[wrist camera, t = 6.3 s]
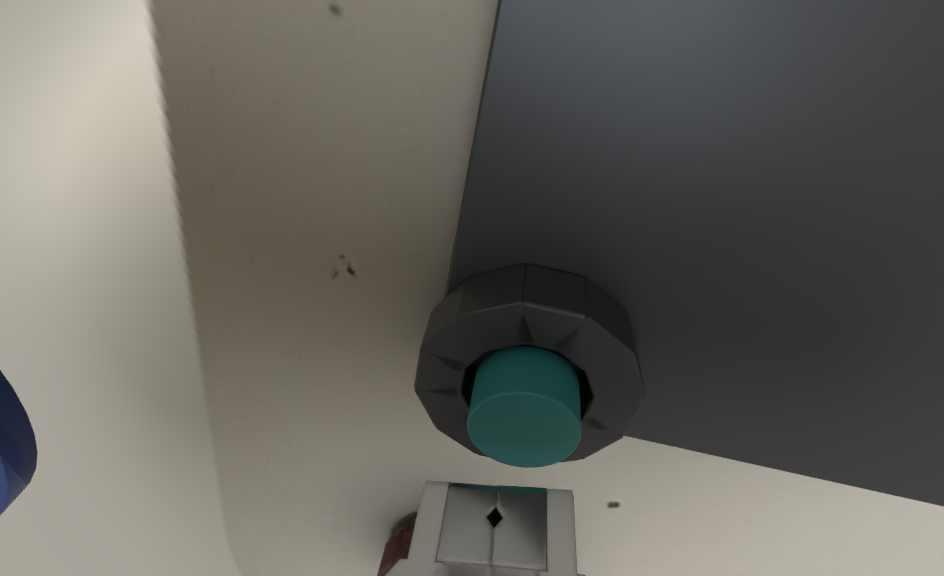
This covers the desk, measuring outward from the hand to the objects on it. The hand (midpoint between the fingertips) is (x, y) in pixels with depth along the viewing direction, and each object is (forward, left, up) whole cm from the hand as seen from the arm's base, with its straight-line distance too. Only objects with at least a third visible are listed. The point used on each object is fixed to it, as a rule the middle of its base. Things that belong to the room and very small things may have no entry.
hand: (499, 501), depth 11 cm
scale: (+7, +3, -6) cm, 10 cm away
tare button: (0, 0, -3) cm, 3 cm away
